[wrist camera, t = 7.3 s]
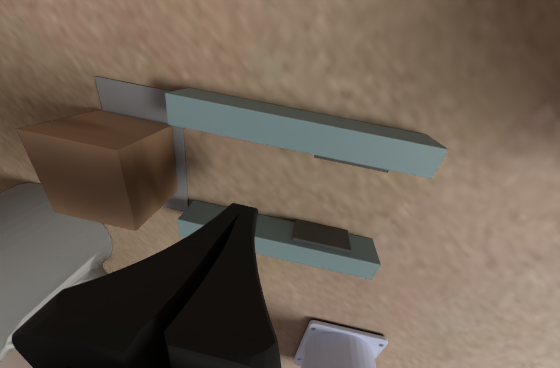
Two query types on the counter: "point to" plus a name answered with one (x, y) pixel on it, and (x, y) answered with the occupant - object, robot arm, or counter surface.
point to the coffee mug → (42, 255)
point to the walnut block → (104, 166)
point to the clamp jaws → (322, 144)
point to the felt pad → (147, 107)
